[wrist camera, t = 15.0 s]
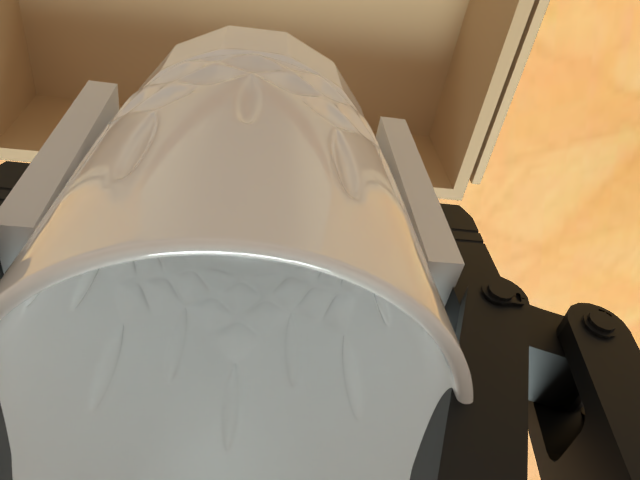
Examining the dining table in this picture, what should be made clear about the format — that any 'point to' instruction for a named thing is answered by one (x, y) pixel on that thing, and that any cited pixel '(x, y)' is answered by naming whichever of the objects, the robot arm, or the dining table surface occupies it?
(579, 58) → the dining table surface
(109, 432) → the white cup
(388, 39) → the carton
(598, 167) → the dining table surface
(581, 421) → the robot arm
